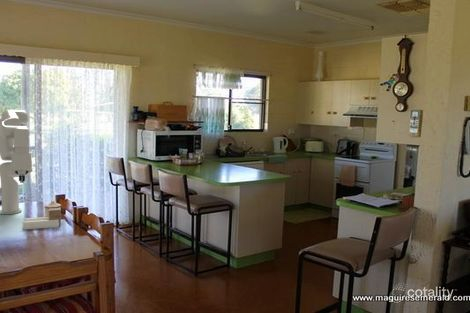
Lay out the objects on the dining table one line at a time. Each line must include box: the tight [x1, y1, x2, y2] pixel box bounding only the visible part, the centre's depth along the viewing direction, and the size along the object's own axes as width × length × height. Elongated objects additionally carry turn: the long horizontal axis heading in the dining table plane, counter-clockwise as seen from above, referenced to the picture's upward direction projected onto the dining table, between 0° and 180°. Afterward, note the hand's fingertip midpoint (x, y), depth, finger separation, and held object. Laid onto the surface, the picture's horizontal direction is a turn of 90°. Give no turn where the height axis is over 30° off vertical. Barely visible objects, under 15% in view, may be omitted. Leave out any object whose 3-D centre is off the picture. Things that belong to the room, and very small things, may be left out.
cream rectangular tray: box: [22, 216, 60, 230], centre depth 236 cm, size 8×18×4 cm, turn 114°
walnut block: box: [49, 208, 62, 225], centre depth 239 cm, size 5×6×8 cm
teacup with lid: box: [44, 200, 62, 217], centre depth 250 cm, size 12×9×12 cm
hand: (21, 182), depth 236 cm, fingers closed
